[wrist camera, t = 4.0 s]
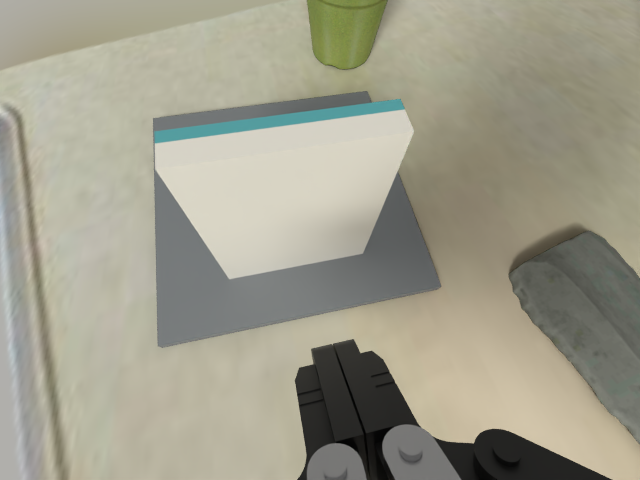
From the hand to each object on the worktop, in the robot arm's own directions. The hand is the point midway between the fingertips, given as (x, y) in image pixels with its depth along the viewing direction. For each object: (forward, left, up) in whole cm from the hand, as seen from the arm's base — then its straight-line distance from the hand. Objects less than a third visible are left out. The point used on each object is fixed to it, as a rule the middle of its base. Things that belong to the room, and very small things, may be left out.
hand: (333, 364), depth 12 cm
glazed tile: (-6, -7, -11) cm, 14 cm away
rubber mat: (-9, -11, -12) cm, 18 cm away
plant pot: (-27, -18, -12) cm, 35 cm away
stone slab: (-14, +19, -12) cm, 27 cm away
